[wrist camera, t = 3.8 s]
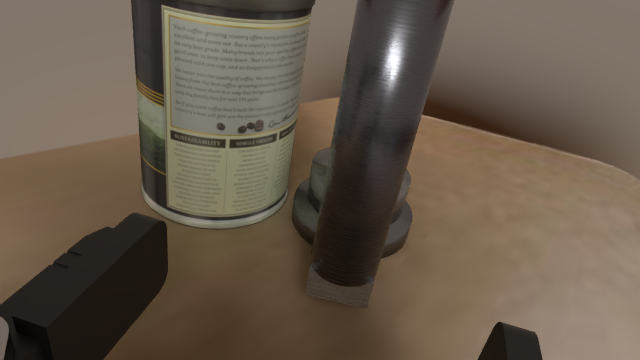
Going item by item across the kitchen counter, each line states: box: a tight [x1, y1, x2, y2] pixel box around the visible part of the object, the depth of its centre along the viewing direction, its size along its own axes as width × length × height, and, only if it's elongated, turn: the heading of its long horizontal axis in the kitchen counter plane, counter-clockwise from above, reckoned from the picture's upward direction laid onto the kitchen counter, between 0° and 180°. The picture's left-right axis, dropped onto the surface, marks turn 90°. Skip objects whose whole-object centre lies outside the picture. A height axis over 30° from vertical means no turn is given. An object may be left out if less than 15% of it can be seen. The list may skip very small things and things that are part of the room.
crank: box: [305, 0, 454, 309], centre depth 25 cm, size 20×6×16 cm, turn 170°
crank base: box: [292, 178, 412, 258], centre depth 31 cm, size 8×8×2 cm
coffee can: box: [131, 0, 315, 229], centre depth 29 cm, size 10×10×14 cm
